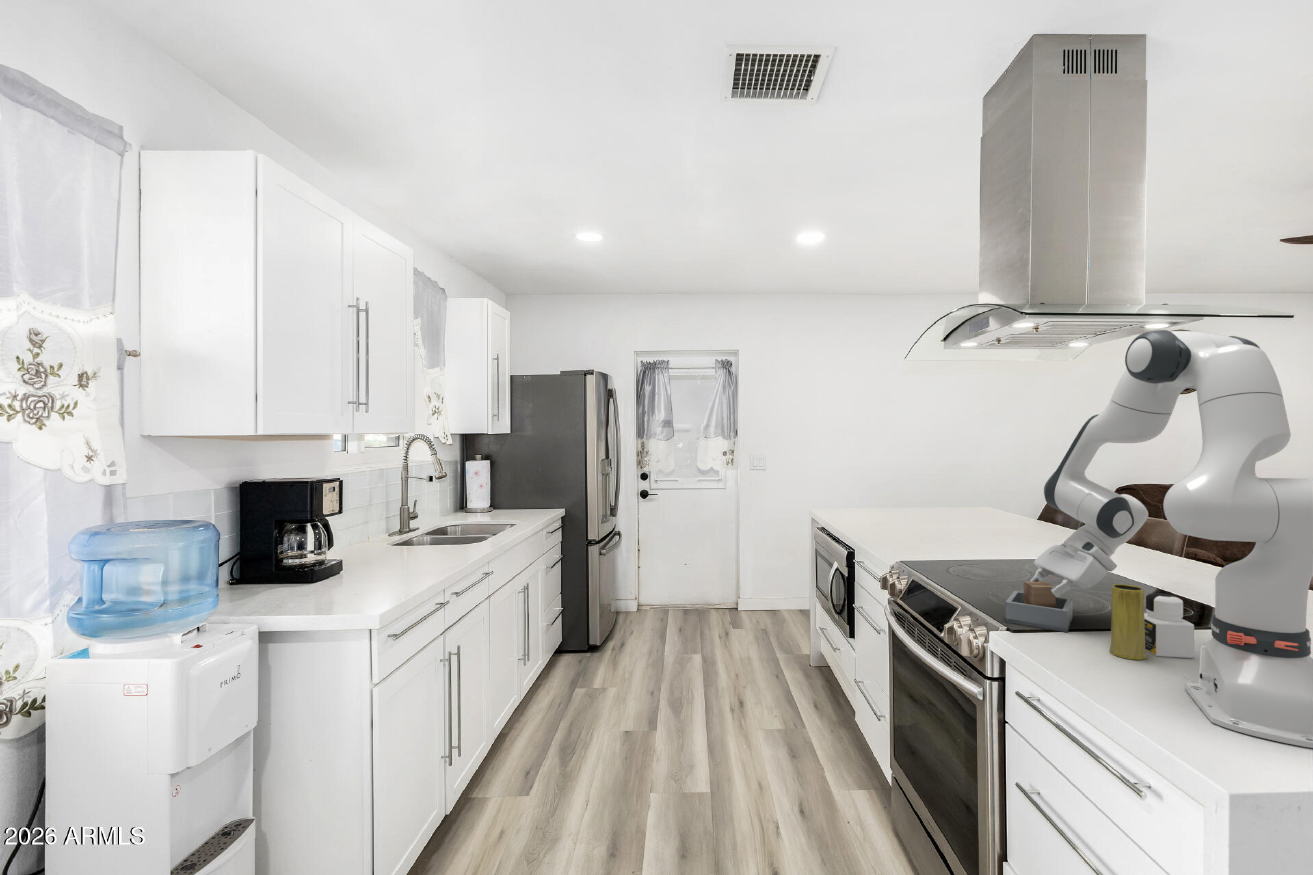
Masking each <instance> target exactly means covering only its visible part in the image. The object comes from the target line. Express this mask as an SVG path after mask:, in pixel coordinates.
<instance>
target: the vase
mask: <svg viewBox="0 0 1313 875" xmlns="http://www.w3.org/2000/svg"><path fill="white" fill-rule="evenodd" d="M1144 591H1145V590H1144V588H1143V587H1141V586H1138V585H1132V584H1126V583H1125V584H1124V583H1115V584H1112V586H1111V621H1110V622H1111V624H1110V625H1111V627H1110V645H1109V652H1110V654H1112V655H1113V656H1114V657H1115V656H1116V657H1119V658H1121V659H1126V660H1131V661H1132V660H1133V661H1142V660H1145V659H1147V655H1146V650H1145V621H1144V613H1145V602H1144V601H1145V595H1144V594H1145V592H1144Z"/></svg>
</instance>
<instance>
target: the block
mask: <svg viewBox="0 0 1313 875" xmlns="http://www.w3.org/2000/svg"><path fill="white" fill-rule="evenodd" d="M1054 586H1055V585H1053V584H1050V583H1048V582H1046V581H1041V582H1030V581H1023V592H1024V604H1030V605H1036V606H1043V607H1050V608H1056V603H1055V597H1056V596H1054V595H1053V594H1052V593H1050V589H1052V588H1053V587H1054Z"/></svg>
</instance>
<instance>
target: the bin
mask: <svg viewBox="0 0 1313 875" xmlns="http://www.w3.org/2000/svg"><path fill="white" fill-rule="evenodd" d="M1055 603H1056V608H1050V607H1043V606H1036V605H1030V604H1024V591H1018V590H1014V591H1013V592H1012V593H1011V594H1010V596H1009V597H1008V598H1007V599H1006V601H1005V623H1008V624H1014V623H1015V624H1014V625H1020V626H1025V627H1026V626H1027V627H1033V628H1036V629H1037V628H1039V629H1042V630H1043V629H1045V630H1052V631H1056V632H1062V633H1069V630H1070V627H1071V624H1072V622H1073V619H1074V618H1073V616H1074V615H1073V607H1074V606H1073V604H1074V603H1073V598H1067V597H1062V596H1059V597H1056V596H1055ZM1072 618H1073V619H1072ZM1071 621H1072V622H1071ZM1070 623H1071V624H1070ZM1069 626H1070V627H1069Z"/></svg>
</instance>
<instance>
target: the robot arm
mask: <svg viewBox="0 0 1313 875" xmlns="http://www.w3.org/2000/svg"><path fill="white" fill-rule="evenodd" d="M1124 358H1125V361H1124V364H1125V367H1126V369H1125V370H1124V372H1123V373H1122V375H1121V376H1120V378H1119V381H1117V385H1115V389H1114V391H1113V394H1112V395H1111V398H1110V401H1109V403H1108V405H1107V406H1106V407H1105V409H1104V410H1102V412H1101V413H1100V414H1094V415H1092V416H1091V417H1089V418H1088V419H1087V420H1086V421H1085V423H1084V424H1083V425H1082V426H1081V428H1080V430H1079V431H1078V432H1077V434H1076V436H1075V438H1074V439H1073V441H1072V443H1071V444H1070V446H1069V447H1068V450H1067V451H1066V453H1065V455H1064V457H1063V458H1062V460H1061V462H1060V464H1059V465H1058V467H1057V468H1056V470H1055V471H1054V472H1053V473H1052V474H1051V476H1050V477H1049V478H1048V479H1047V481H1046V482H1045V484H1044V487H1043V495H1044V498H1045V502H1046V504H1047V505H1048V506H1050V508H1053V509H1055V510H1057V511H1059V512H1062V513H1065V514H1067V515H1068V516H1070V517H1071V518H1073V519H1075V520H1077V521H1079V522H1081V523H1084V525H1081V526H1080V527H1079V528H1077V529H1075V531H1074V532H1073V533H1072V534H1070V535H1069V536H1068V537H1067V538H1066V539H1065V540H1064V541H1063V543H1062V544H1055V545H1052V546H1051V547H1048V549H1046V550H1044V551H1043V552H1042V553H1041V554H1040V555H1039V556H1037V558H1035V560H1034V562H1033V564H1034V565H1035V567H1037V570H1036V571H1035V574H1034V575H1033V577H1032V578H1031V579H1030V580H1029V582H1043V580H1044V579H1045V578H1047V577H1048V576H1051V577H1053V578H1055V579H1058V580H1059V581H1061V583H1060V584H1058V585H1053V586H1054V587H1053V588H1052V589H1050V593H1052V594H1053V595H1054V596H1055V597H1061V595H1063V594H1064V593H1066V592H1069V591H1071V590H1073V589H1074V588H1075V587H1076V588H1078V589H1080V590H1082V591H1087V590H1089V589H1092V588H1093V587H1094V586H1095V585H1097V584H1099V582H1100V581H1102V579H1104V578H1105V577H1106V575H1108V572H1109V573H1110V572H1112V571H1114V570H1115V569H1116V568H1117V564H1116V562H1114V560H1113V559H1112V558H1111V557H1112V556H1113V555H1114V553H1115V552H1116V551H1117V549H1118V548H1119V547H1120V546H1121V545H1124V544H1126V543H1127V542H1128V541H1129V540H1131V538H1133V537H1134V536H1135V535H1136V534H1137V533H1138V531H1140V529H1141V528H1142V527H1143V525H1144V524H1145V523H1146V521H1147V520H1148V518H1149V511H1148V509H1147V508H1146V506H1145V505H1144V503H1143V502H1141V501H1140V500H1138V499H1137V498H1135V497H1133V496H1132V495H1130V494H1125V493H1122V494H1119V493H1117V492H1115V491H1113V490H1111V489H1109V488H1107V487H1104V486H1102V485H1100V484H1098V483H1096V482H1094V481H1092V480H1090V479H1088V478H1087V476H1086V474H1085V471H1086V470H1087V469H1088V468H1089V465H1090V464H1091V462H1092V460H1093V458H1094V457H1095V455H1096V454H1097V452H1098V451H1099V449H1100V448H1101V447H1102V446H1103V445H1105V444H1109V443H1111V444H1137V443H1138V444H1140V443H1143V442H1148V441H1151V440H1153V439H1155V438H1157V437H1158V436H1159V435H1161V434H1162V433H1163V431H1164V430H1165V428H1166V427H1167V425H1168V424H1169V421H1170V418H1171V416H1172V414H1173V412H1174V410H1175V406H1176V404H1177V402H1178V398H1179V396H1180V394H1181V393H1182V392H1183V391H1185V390H1186V389H1194V390H1196V397H1197V404H1198V412H1199V418H1200V426H1201V427H1200V428H1201V437H1202V439H1201V440H1202V448H1201V452H1200V456H1199V459H1198V461H1197V462H1196V464H1195V466H1194V467H1193V469H1192V470H1191V471H1190V472H1189V473H1188V474H1187V475H1185V476H1184V477H1183V478H1181V479H1180V480H1178V481H1176V482H1175V483H1174V484H1173V485H1172V486H1171V487H1169V489H1168V491H1167V492H1166V493H1165V496H1164V499H1163V504H1162V505H1163V513H1164V516H1165V518H1166V520H1167V521H1168V523H1169V524H1170V526H1171V527H1172V528H1173V529H1174V530H1175V531H1176V532H1178V533H1179V534H1182V535H1186V536H1191V537H1193V538H1194V537H1195V538H1199V539H1206V540H1210V541H1227V542H1248V543H1249V542H1250V543H1251V542H1252V543H1255V545H1254V547H1253V549H1252V551H1250V553H1248V555H1247V556H1245V557H1244V558H1242V559H1239V560H1237V561H1234V562H1231V563H1229V564H1227V565H1224V566H1223V567H1222V568H1221V569H1220V570H1219V571H1218V573H1216V575H1215V580H1214V588H1215V589H1214V591H1215V592H1214V605H1215V606H1214V607H1215V608H1214V609H1215V610H1214V614H1213V615H1212V616H1211V622H1210V628H1211V636H1212V638H1211V640H1209V641H1208V642H1206V643H1204V644H1202V645H1200V653H1199V678H1198V679H1199V681H1198V682H1188V683H1186V684H1185V691H1186V692H1187V693H1188V695H1189V696H1190V698H1191V699H1192V700H1193V701H1194V702H1195V703H1196V705H1197V706H1198V708H1199V709H1200V710H1201V711H1202V712H1203V713H1204V715H1205V716H1206V717H1207V719H1208V720H1209V721H1210V722H1211V723H1213V724H1216V725H1217V726H1220V727H1223V728H1226V729H1228V730H1232V731H1235V732H1239V733H1241V734H1245V735H1249V736H1253V737H1256V738H1257V737H1258V738H1261V739H1266V740H1270V741H1274V742H1275V741H1276V742H1279V743H1284V744H1289V745H1293V746H1297V747H1298V746H1300V747H1305V748H1311V749H1313V658H1312V657H1311V656H1310V655H1311V654H1312V650H1311V645H1312V638H1311V634H1310V630H1309V629H1308V628H1307V610H1308V599H1309V598H1308V597H1309V596H1308V595H1309V590H1310V586H1311V585H1310V584H1311V581H1312V579H1313V479H1312V478H1291V477H1290V478H1286V477H1285V478H1283V477H1281V478H1280V477H1258V476H1257V474H1256V464H1257V462H1261V461H1262V460H1265V459H1268V458H1269V457H1271V456H1274V455H1276V454H1277V453H1280V452H1281V451H1283V450H1284V449H1285V448H1287V445H1288V444H1289V442H1290V440H1291V436H1292V434H1291V429H1290V424H1289V420H1288V415H1287V411H1286V405H1285V400H1284V396H1283V391H1282V388H1281V384H1280V381H1279V379H1278V375H1277V373H1276V371H1275V369H1274V367H1273V366H1274V365H1272V362H1271V361H1270V359H1269V356H1268V355H1267V353H1266V352H1265V351H1264V350H1263V349H1262V348H1260V345H1258V344H1257V343H1256V342H1254V341H1252V340H1250V339H1247V338H1244V337H1240V336H1236V335H1235V336H1234V335H1230V336H1226V335H1221V334H1217V333H1215V334H1214V333H1206V332H1203V331H1197V330H1196V331H1193V330H1171V331H1170V330H1166V329H1160V330H1159V329H1157V330H1156V329H1155V330H1150V331H1147V332H1142V333H1141V334H1138V335H1137V336H1136V337H1135V338H1134V339H1133V341H1132V342H1131V343H1130V344H1129V346H1128V348H1127V350H1126V353H1125V356H1124Z"/></svg>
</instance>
